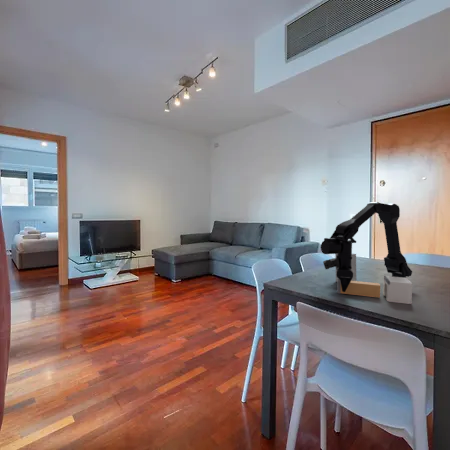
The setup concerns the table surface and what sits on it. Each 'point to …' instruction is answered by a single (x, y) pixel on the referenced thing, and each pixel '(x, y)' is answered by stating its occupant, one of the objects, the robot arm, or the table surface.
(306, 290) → the table surface
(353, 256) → the skincare box
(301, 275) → the table surface
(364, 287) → the plug
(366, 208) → the robot arm
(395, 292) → the block
